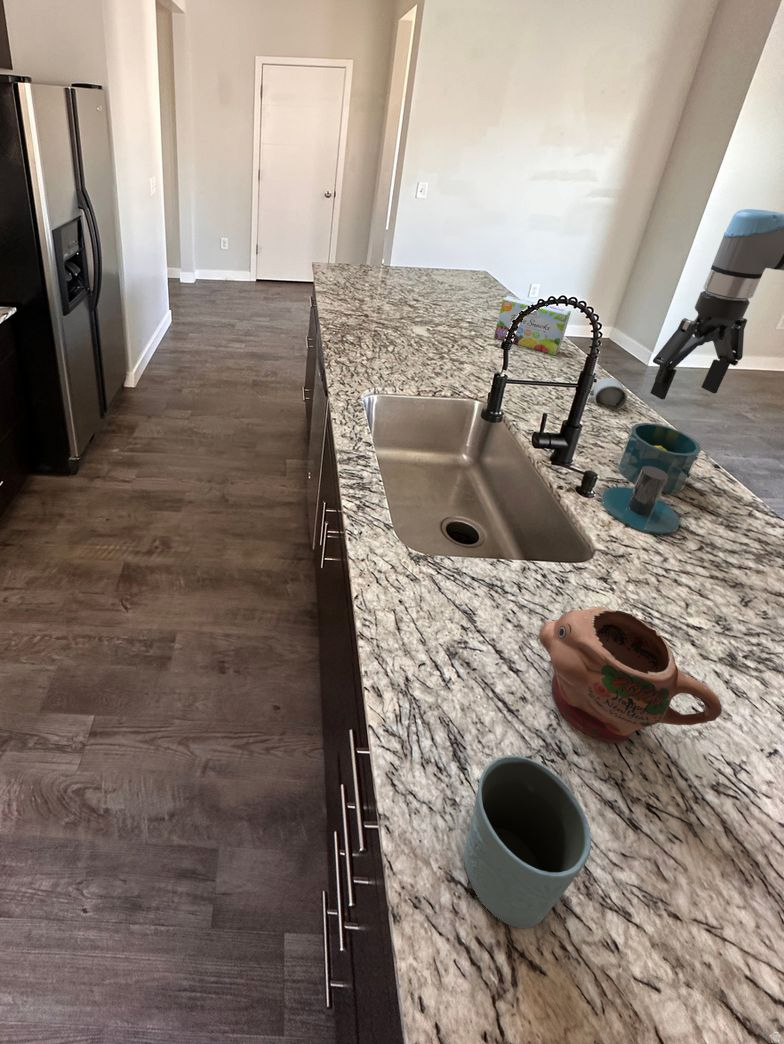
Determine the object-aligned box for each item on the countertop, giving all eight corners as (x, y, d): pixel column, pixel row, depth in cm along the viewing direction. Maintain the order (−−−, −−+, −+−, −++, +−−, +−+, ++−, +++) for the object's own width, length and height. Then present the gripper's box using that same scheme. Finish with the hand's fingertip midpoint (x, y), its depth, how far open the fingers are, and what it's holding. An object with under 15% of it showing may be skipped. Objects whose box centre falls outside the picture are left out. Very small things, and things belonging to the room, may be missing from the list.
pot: (696, 490, 117) (715, 451, 113) (651, 499, 114) (669, 459, 110) (646, 457, 128) (661, 420, 124) (604, 464, 125) (618, 426, 120)
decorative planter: (683, 707, 74) (723, 639, 68) (700, 798, 64) (749, 728, 58) (526, 644, 82) (550, 577, 76) (520, 716, 72) (547, 646, 66)
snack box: (492, 338, 193) (502, 298, 186) (498, 334, 197) (507, 294, 190) (555, 356, 180) (567, 314, 174) (560, 351, 184) (572, 309, 178)
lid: (694, 530, 106) (714, 489, 101) (640, 542, 102) (659, 500, 98) (635, 487, 118) (651, 448, 113) (585, 496, 114) (599, 457, 110)
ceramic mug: (617, 401, 153) (626, 377, 150) (622, 414, 146) (631, 389, 143) (576, 393, 157) (583, 370, 153) (579, 406, 150) (586, 382, 147)
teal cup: (463, 923, 53) (489, 863, 48) (450, 805, 62) (470, 744, 57) (571, 949, 52) (609, 890, 47) (542, 825, 61) (571, 764, 56)
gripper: (754, 286, 107) (712, 379, 117) (656, 291, 101) (619, 389, 110) (795, 298, 101) (747, 396, 110) (693, 304, 95) (651, 408, 104)
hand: (683, 393), depth 110 cm, fingers open, 13 cm apart
